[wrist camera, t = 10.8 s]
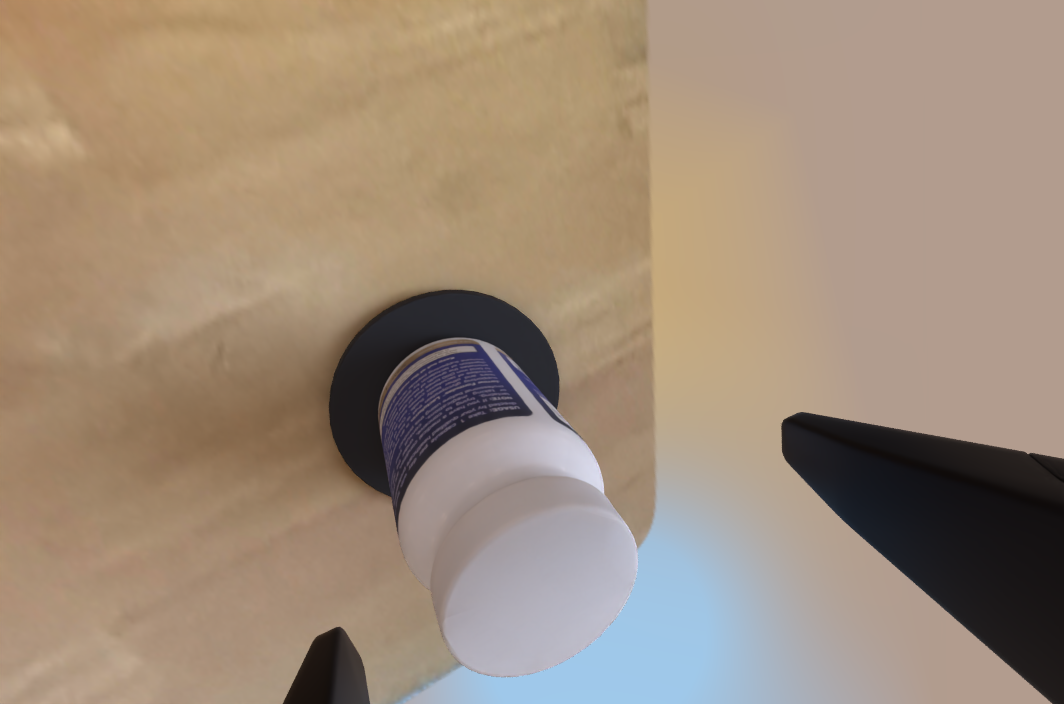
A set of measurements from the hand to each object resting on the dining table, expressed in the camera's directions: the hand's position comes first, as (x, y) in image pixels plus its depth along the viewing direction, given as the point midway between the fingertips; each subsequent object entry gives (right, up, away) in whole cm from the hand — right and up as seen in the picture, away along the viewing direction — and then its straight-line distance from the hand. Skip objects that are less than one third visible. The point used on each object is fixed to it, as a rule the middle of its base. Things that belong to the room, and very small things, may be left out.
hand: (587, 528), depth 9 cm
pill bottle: (-4, +1, +11) cm, 11 cm away
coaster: (-4, +1, +11) cm, 12 cm away
